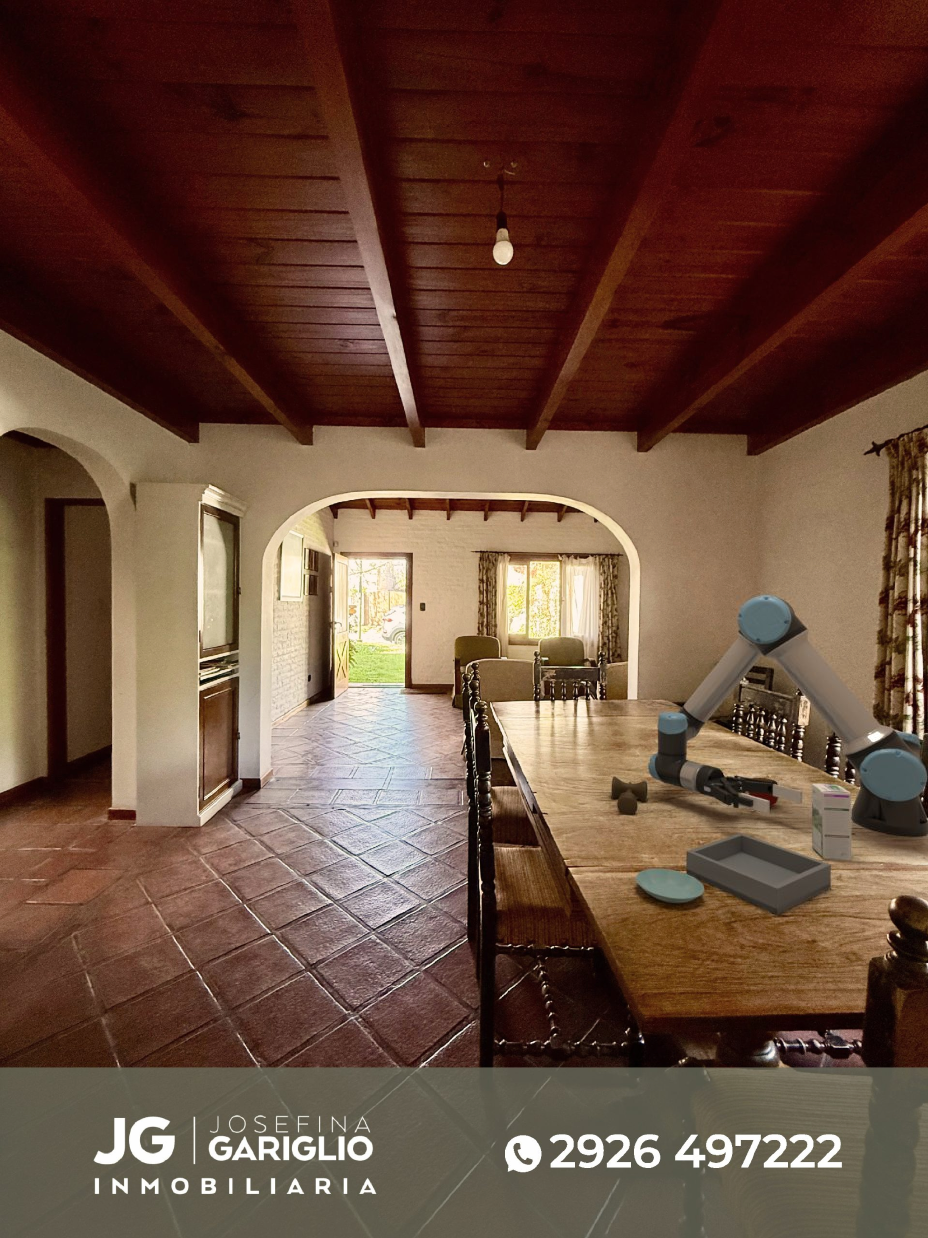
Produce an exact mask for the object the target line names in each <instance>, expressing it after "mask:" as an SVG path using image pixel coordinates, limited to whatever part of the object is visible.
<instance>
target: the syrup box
mask: <svg viewBox="0 0 928 1238" xmlns="http://www.w3.org/2000/svg"><path fill="white" fill-rule="evenodd" d="M811 814H812V815H811V822H812V823H811V825H812V826H811V828H812V829H811V833H812V837H811V838H812V839H811V841H812V845H811V846H812V847H811V848H812V850H814V851H815V852H816V853H817V854H818V855H819V856H820V857H821V858H822V859H823V860H824V859H825V860H833V861H844V860H846V861H848V862H849V861H850V862H851V861H852V857H853V856H852V855H853V854H852V850H853V849H852V845H853V843H852V818H851V817H852V793H851V792H850V791H848V790H847V789H846V788H844V787H842V786H840V785H839V784H834V783H812V784H811Z"/></svg>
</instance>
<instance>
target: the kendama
mask: <svg viewBox="0 0 928 1238" xmlns="http://www.w3.org/2000/svg"><path fill="white" fill-rule="evenodd" d="M610 791H611V798H612V799H613V798H615V799H617V802H616V806H617V807H616V808H617V809H618V811H619V812H620V813H621V814H622V813H623V814H622V815H627V814H630V815H629V816H631V815H634V814H636V813H637V811H638V808H639V806H638V800H640V801H641V802H647V799H648V783H647V780H642V781H640V782H636V783H632V782H631V781H629V782H624V781H622V780H621V779H619V778H618V777H616V776H613V777H612V779H611V789H610Z"/></svg>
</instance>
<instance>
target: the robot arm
mask: <svg viewBox="0 0 928 1238" xmlns="http://www.w3.org/2000/svg"><path fill="white" fill-rule="evenodd" d="M737 626H738V628H739V629H738V631H737V639H736V640H735V641H734V642H733V643H732V645H731V646H730V647H729V649H728V650H727V651H726V652H725V654H724V655H723V656H722V657H721V658H720V660H719V661H718V662H717V663H716V665H714V667H713V668H712V669H711V671H710V672H709V673H708V675H707V676H706V677H705V678H704V680H702V682H701V683H700V685H699V686H698V687H697V689H696V690H694V692H693V694H692V695H691V696H690V697H689V698H688V699H687V701H686V702H685V703H684V705H683V706H681V708H680V709H679V710H678V712H675V711H673V712H672V711H665V712H660V713H659V714H658V717H657V718H658V719H657V752H656V753H654V754H652V755H651V756H650V758H649V762H648V764H647V767H648V768H647V769H648V770H647V771H648V772H649V776H650V777H652V778H653V779H655V780H657V781H658V782H659V781H660V782H662V783H664V784H668V785H671V786H675V787H677V788H678V787H679V788H682V789H686V790H689V791H691V793H692V794H695V793H697V794H701V795H704V796H708V797H711V798H714V799H716V800H718V801H719V802H721V803H723V804H725V805H726V806H732V808H734V809H739V806H742V807H744V808H748V809H751V810H755V811H758V812H760V813H764V814H770V808H771V807H770V801H768V800H764V799H761V798H757V797H754V796H750V795H749V794H747V793H748V792H755V793H766V794H773V796H776V797H779V798H781V799H783V800H788V801H791V802H795V803H797V804H802V803H803V791H802V790H800V789H799V790H798V789H794V788H791V787H786V786H783V785H779V784H778V782H777V780H775V779H772V780H773V781H768V780H761V779H753V778H754V777H752V778H751V777H745V776H742V775H741V776H740V775H737V774H736V775H733V776H732V775H731V776H728V775H727V776H726V775H725V774H724V772H723V771H722V769H720V767H716V766H712V765H709V764H706V763H701V762H697V761H693V760H689V759H687V753H688V752H687V749H688V745H687V743H688V742H689V741H691V739H694V738H695V737H696V736H697V735H698V734H700V732H701V730H702V728H703V727H704V726H705V724H706V723H707V722H708V720H709V719H710V718H711V716H712V715H714V713H715V712H716V711H717V710H718V708H720V706H721V705H722V704H723V702H724V701H725V700H726V699H727V698H728V696H729V695H730V694H731V693H732V692H733V690H734V689H735V688H736V687H737V686H738V684H739V683H740V682H741V681H742V679H743V678H744V677H745V676H746V675H747V674H748V672H749V671H750V670H751V669H752V668H753V666H755V664H756V663H757V662H758V661H759V659H760V658H761V657H762V655H763V657H764V658H765V659H766V658H767V659H773V660H775V661H776V662H777V664H778V665H779V666H780V667H781V668H782V669H783V672H784V673H786V675H787V676H788V677H789V679H791V681H792V682H793V683H794V684H795V686H796V687H797V688H798V689H799V690H800V692H801V693H802V695H803V696H804V697H805V698H806V700H808V701H809V703H810V704H811V705H812V707H813V708H814V709H815V710H816V711H817V713H818V714H819V715H820V716H821V718H823V720H824V721H825V722H826V724H827V725H828V726H829V727H830V728H831V730H832V731H833V732H834V733H835V735H836V736H837V737H838V739H840V741H841V743H843V749H842V753H843V755H844V756H845V758H846V759H847V761H849V763H850V764H851V765H852V767H853V768H854V769H855V771H856V772H857V773H858V775H859V782H860V783H859V790H858V793H857V796H856V798H855V800H854V803H853V805H852V806H851V821H853V822H855V823H856V824H858V825H860V826H862V827H865V828H867V829H870V830H874V831H876V832H877V831H878V832H881V833H886V834H892V835H899V836H907V837H911V836H912V837H919V835H921V836H925V835H928V817H927V815H926V812H925V809H924V807H923V804H922V802H921V801H922V800H921V799H920V794H921V793H922V792H923V791H924V790H925V788H926V785H927V781H928V772H927V768H926V766H925V765H924V763H923V762H922V759H921V757H920V755H921V753H920V752H921V751H920V749H921V748H922V745H921V744H920V743H921V742H920V737H919V735H917V734H916V733H915V734H914V733H910V732H900V731H896V730H895V729H894V728H893V727H891V726H887V725H882V724H880V723H879V722H878V720H877V719H876V718H875V717H874V716H873V715H872V713H871V712H870V711H869V710H868V709H867V707H865V705H864V704H863V703H862V702H861V701H860V699H859V698H858V697H857V695H855V693H853V691H852V690H851V689H850V687H849V686H848V685H847V684H846V683H845V682H844V681H843V679H842V678H841V677H840V675H838V674H837V672H836V671H835V670H834V669H833V668H832V666H831V665H830V664H829V663H828V662H827V661H826V659H825V658H824V657H823V656H822V655H821V653H820V652H818V650H817V649H816V648H815V646H813V644H812V643H811V642H810V641H809V639H808V637H809V629H808V628H807V626H806V625H805V624H804V623H803V622H802V621H801V620H800V618H799V617H798V616H797V615H796V613H795V610H794V609H793V607H792V606H791V604H790V603H789V602H787V601H786V600H784V599H782V598H779V597H776V596H775V595H768V594H761V595H758V596H754V597H752V598H751V599H749V600H748V601H747V600H746V602H745V603H744V604H743V605H742V606H741V608H740V609H739V612H738V615H737ZM777 784H778V785H777Z"/></svg>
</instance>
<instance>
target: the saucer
mask: <svg viewBox="0 0 928 1238" xmlns="http://www.w3.org/2000/svg"><path fill="white" fill-rule="evenodd" d="M635 882H636V883H637V884H638V885H639V887H640V888H641V889H643V891H644V892H646V893H647V894H648V895H650V896H651V897H653V898H655V899H657V900H658V901H662V902H664V903H669V904H684V903H688V902H692V901H694V900H695V899H696V900H697V898H698V897H700V896H702V894H704V892H705V887H704V884H703V883H702V881H700V880H699V879H697V878H694V877H692V876H690V875H688V874H686V873H684V872H681V871H677V870H673V869H668V868H667V869H666V868H649V869H648V868H647V869H645V870H642V871H640V872H638V873H637V874H636V875H635Z"/></svg>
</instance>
